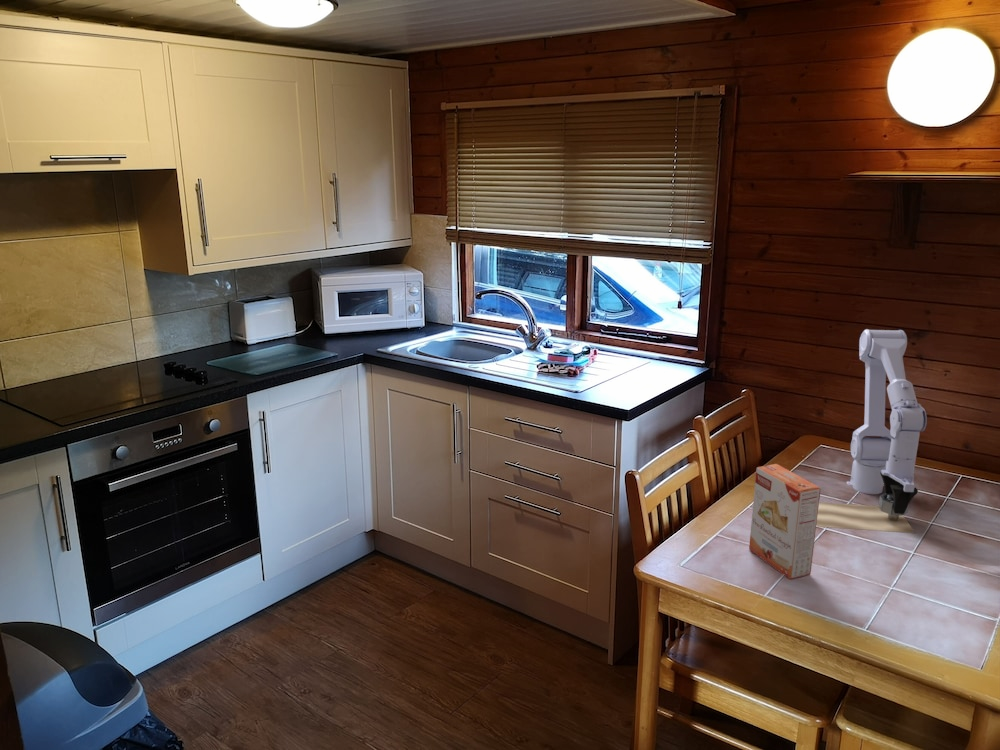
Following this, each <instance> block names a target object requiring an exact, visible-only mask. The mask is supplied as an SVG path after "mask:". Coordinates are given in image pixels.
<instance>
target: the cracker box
mask: <svg viewBox="0 0 1000 750" xmlns="http://www.w3.org/2000/svg"><path fill="white" fill-rule="evenodd" d="M755 471H756V472H755V483H754V492H753V494H754V495H753V503H752V513H751V526H750V536H749V544H748V545H749V548H748V549H749V550H750V551H751V552H752V553H754V554H755V555H757V557H759V558H761V559H762V560H764V562H765V563H767V564H769V565H770V566H771V567H773V568H774V569H775V570H777V571H778V572H780V573H781V574H782V575H784V576H785V577H786V578H788V579H789V580H792V579H797V578H800V577H804V576H808V575H811V572H812V566H813V564H812V563H813V556H814V547H815V539H816V530H817V516H818V507H819V502H820V499H821V489H822V488H821V487H820V486H818V485H816V484H814V483H812V482H811V481H809V480H807V479H805V478H804V477H801V476H800V475H798V474H796V473H794V472H793V471H790V470H789V469H787V468H786V467H783V466H782V465H780V464H778V463H774V464H768V465H762V466H758V467H756V470H755Z"/></svg>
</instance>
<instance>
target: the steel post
mask: <svg viewBox="0 0 1000 750" xmlns="http://www.w3.org/2000/svg"><path fill="white" fill-rule="evenodd" d="M891 502H894V500H892V501H891ZM888 519H889V520H891V521H898V519H899V515H890V514H888Z"/></svg>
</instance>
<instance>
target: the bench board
mask: <svg viewBox="0 0 1000 750" xmlns="http://www.w3.org/2000/svg"><path fill="white" fill-rule="evenodd" d="M816 526H817V528H819V527H820V528H833V529H844V530H845V529H847V530H863V531H874V532H877V531H878V532H891V533H902V534H903V533H905V534H916V531H915V530H914V529H913V527H912V526H911V525H910V524H909V522H908V520H907V519H906V518H905V516H904V515H902V516H900V515H899V519H898V521H891V520H889V519H888V514H887V513H885V512H882V511H881V510H880V509H879V505H866V504H853V503H852V504H850V503H849V504H848V503H833V502H820V501H819V507H818V516H817V524H816Z"/></svg>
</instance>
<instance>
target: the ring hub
mask: <svg viewBox="0 0 1000 750" xmlns="http://www.w3.org/2000/svg"><path fill="white" fill-rule="evenodd" d="M892 500H894V498H893V494H892V493H885V492H884V493H881V494H880V496H879V501H878V506H879V509H880V510H881V511H882V512H885V513H887V514H890V515H900V516H902V515H903V516H905V515H906V514H908V513H909V506H910V504H909V505H908V507H907V509H906V511H905V513H904V514H897V513H895V512H894V502H891V501H892Z"/></svg>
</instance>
